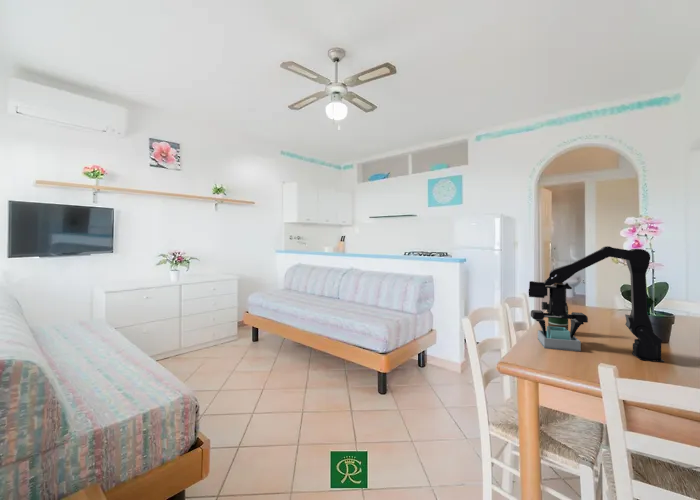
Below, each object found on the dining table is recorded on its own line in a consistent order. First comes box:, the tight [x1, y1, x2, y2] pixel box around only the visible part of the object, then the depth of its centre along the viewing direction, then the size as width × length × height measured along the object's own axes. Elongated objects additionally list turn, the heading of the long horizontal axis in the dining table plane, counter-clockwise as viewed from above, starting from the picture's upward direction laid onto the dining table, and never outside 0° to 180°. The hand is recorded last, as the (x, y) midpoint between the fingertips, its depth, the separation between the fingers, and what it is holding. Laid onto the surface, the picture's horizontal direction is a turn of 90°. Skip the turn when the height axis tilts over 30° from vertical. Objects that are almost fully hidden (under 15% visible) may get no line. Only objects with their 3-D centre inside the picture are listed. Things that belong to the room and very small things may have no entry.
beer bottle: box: [547, 282, 569, 331], centre depth 140 cm, size 8×8×24 cm
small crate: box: [546, 325, 570, 340], centre depth 123 cm, size 6×6×6 cm
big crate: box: [537, 329, 582, 352], centre depth 123 cm, size 12×12×4 cm
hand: (557, 336), depth 123 cm, fingers open, 9 cm apart
